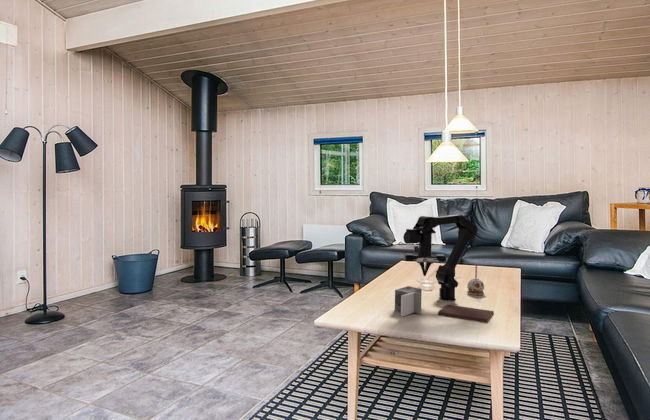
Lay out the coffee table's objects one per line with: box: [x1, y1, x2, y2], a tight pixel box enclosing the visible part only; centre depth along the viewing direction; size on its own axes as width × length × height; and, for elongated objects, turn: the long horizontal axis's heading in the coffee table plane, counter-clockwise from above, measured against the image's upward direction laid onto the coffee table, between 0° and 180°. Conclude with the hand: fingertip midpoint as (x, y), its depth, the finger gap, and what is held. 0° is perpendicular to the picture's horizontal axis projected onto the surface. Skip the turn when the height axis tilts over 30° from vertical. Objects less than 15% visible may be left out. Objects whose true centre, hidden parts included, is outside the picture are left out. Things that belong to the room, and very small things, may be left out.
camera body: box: [394, 285, 423, 313], centre depth 187 cm, size 11×7×10 cm, turn 135°
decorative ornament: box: [467, 264, 485, 296], centre depth 217 cm, size 8×8×15 cm
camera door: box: [400, 292, 422, 317], centre depth 180 cm, size 10×4×8 cm, turn 135°
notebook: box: [437, 303, 494, 323], centre depth 182 cm, size 15×20×2 cm
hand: (424, 275), depth 202 cm, fingers closed
